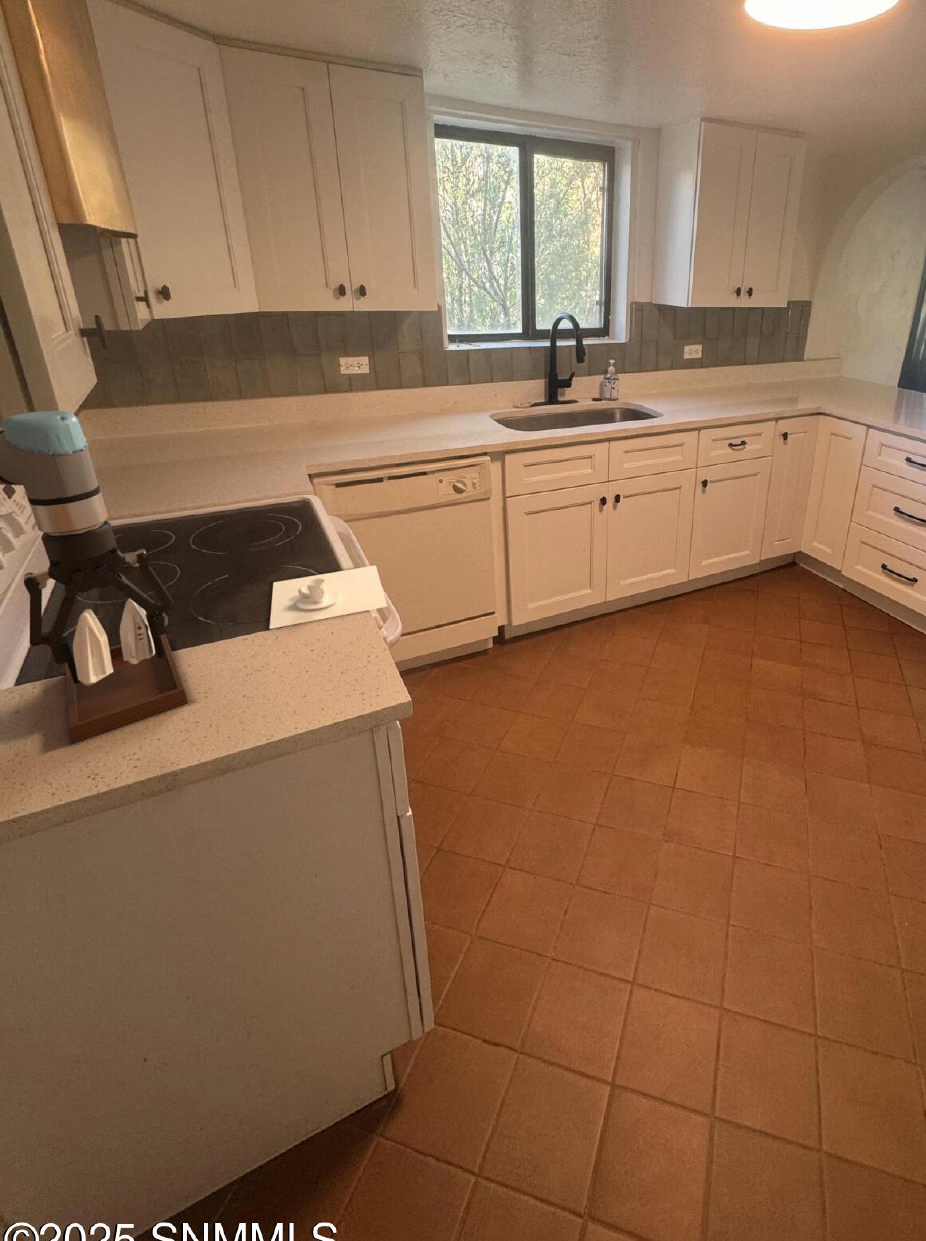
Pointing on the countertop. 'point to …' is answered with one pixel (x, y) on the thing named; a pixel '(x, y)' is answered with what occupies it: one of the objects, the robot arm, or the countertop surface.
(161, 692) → the tray
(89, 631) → the shaker set
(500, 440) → the countertop surface
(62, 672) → the countertop surface
